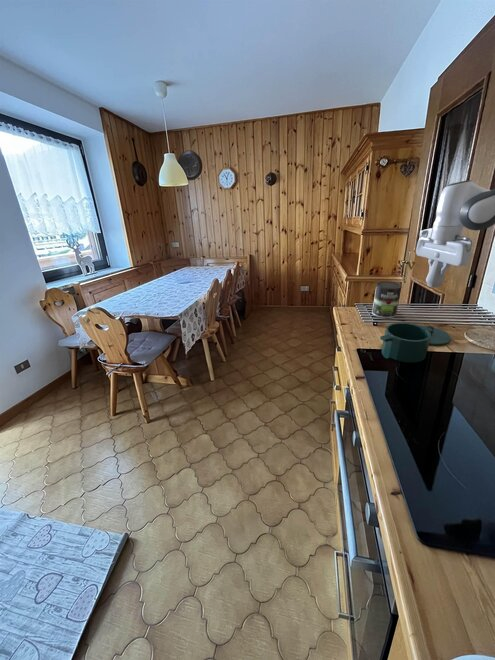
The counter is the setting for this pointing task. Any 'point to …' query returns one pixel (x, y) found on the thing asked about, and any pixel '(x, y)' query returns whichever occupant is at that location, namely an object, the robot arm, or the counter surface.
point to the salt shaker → (435, 273)
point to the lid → (438, 336)
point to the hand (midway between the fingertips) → (436, 272)
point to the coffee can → (386, 299)
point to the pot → (406, 342)
